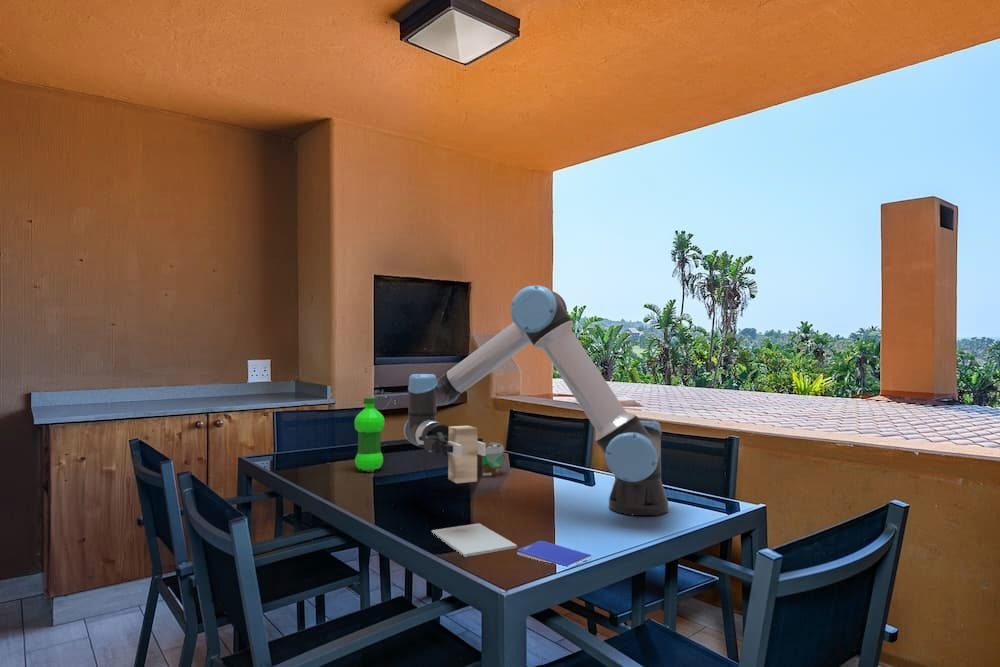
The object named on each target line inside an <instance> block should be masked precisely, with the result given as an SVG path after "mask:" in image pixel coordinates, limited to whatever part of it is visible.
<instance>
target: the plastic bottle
mask: <svg viewBox="0 0 1000 667" xmlns="http://www.w3.org/2000/svg"><path fill="white" fill-rule="evenodd" d="M363 404H364V408H363V409H362V411H360V412H359V413H358V414H357V415H356V416H355V419H354V421H353V422H354V429H355V430H356V431H357V454H356V456H355V458H354V463H355V467H356V468H357V469H358V470H360V469H362V470H375V469H378V470H379V469H380V468H382V466H383V463H384V456H383V453H382V451H381V450H382V448H381V445H382V444H381V442H382V441H381V440H382V438H381V434H382V432H381V431H382V430H383V429H384V427H385V417H384V415H383V414H382V413H381V412H380V411H378V409H376V408H375V404H377V398H376V397H364V398H363Z"/></svg>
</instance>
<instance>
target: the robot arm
mask: <svg viewBox="0 0 1000 667" xmlns="http://www.w3.org/2000/svg"><path fill="white" fill-rule="evenodd" d="M510 316H511V319H512V321H513V322H512V323H510V324H509V325H508V326H507V327H505V328H504V329H502V330H501V331H500V332H499V333H497V334H496V335H495V336H493V337H491V339H489V340H488V341H486V342H485V343H484V344H482V345H481V346H479V348H477V349H476V350H474V351H473V352H472V353H471V354H469V355H468V356H467V357H465V358H464V359H463V360H461V361H459V362H458V363H457V364H455V365H454V366H453V367H452V368H450V369H449V370H448V371H446V372H445V373H443V374H442V375H441V376H440V377H438V378H437V376H436V374H435V373H434V374H433V373H413V374H410V375H409V379H408V387H407V391H408V392H407V393H408V396H407V397H408V402H407V403H408V406H407V408H408V414H407V415H408V416H407V420H406V422H405V424H404V425H403V436H404V437H405V439H406V440H407V441H408V442H409V443H410V444H412V445H414V446H416V447H418V448H419V449H425V450H427V451H428V452H429V453H433V454H436V455H437V454H441V456H442V457H448V454H451V455H453V456H456V457H458V458H462V445H460V444H457V443H455V442H452V441H449V427H450V426H449V425H447V424H445V423H441V422H439V421H437V407H442V406H448V405H450V404H452V403H454V402H455V401H456V400H457V399H458V397H459V396H460V395H461V394H463V393H464V392H466V390H468V389H469V388H471V387H472V386H474V385H475V384H476V383H478V382H480V381H481V380H482V379H483V378H485V377H486V376H487V375H489V374H491V372H493V371H494V370H495V369H497V368H498V367H500V366H501V365H503V364H504V363H505V362H507V361H508V360H509V359H511V358H512V357H514V356H515V355H517V354H518V353H519V352H520V351H522V350H524V349H525V348H526V347H528V346H530V344H532V345H533V347H534V348H537V349H541V350H543V352H544V353H545V354H546V356H547V358H548V359H549V360H550V362H551V363H552V365H553V366H554V368H555V370H556V371H557V373H559V374H558V375H559V376H560V377H561V378H562V381H564V383H565V385H566V386H567V388H568V389H569V391H570V393H572V395H573V397H574V398H575V400H576V402H577V403H578V404H579V406H580V407H581V409H582V410H583V413H585V415H586V417H587V418H588V420H589V422H590V423H591V425H592V427H593V428H594V429H595V434H596V435H595V439H594V440H595V443H597V445H598V447H599V449H600V450H601V452H602V453H603V454H604V459H605V462H606V465H607V467H608V469H609V471H610V472H611V473H612V474H613V476H615V479H614V482H613V484H612V489H611V491H610V494H609V497H608V508H609V509H610V510H611V509H612V510H611V511H613V510H614V511H613V512H615V511H616V513H618V512H620V513H619V514H621V513H625V514H624V515H626V514H633V515H632V516H634V515H656V516H659V515H658V514H662V515H664V514H663V513H665V512H667V511H668V512H669V500H668V498H667V494H666V491H665V488H664V485H663V482H662V448H661V447H662V446H661V445H662V439H661V436H662V433H663V432H662V430H661V429H662V428H661V424H660V423H659V422H658V421H654V420H651V421H650V420H640V418H639V417H638V416H637V414H635V413H631V412H628V411H626V409H625V408H624V406H623V405H622V403H621V402H620V400H619V399H618V397H617V396H616V394H615V393H614V391H613V389H612V388H611V387H610V386H609V384H608V383H607V381H606V379H605V378H604V376H603V374H601V372H600V370H599V369H598V368H597V366H596V364H595V363H594V362H593V360H592V358H591V357H590V356H589V354H588V353H587V351H586V350H585V349H584V347H583V345H582V344H581V342H580V341H579V339H578V337H577V336H576V335H575V333H574V331H573V326H574V321H573V319H572V317H571V316H570V315H569V314H568V308H567V304H566V301H565V300H564V298H563V297H562V296H561V295H560V294H558V293H557V292H555V291H553V290H550V289H549V288H548V287H545V286H542V285H529V286H525V287H524V288H521V289H520V290H519V291H518V292H517V293H516V294H515V295H514V297H513V299H512V302H511V305H510ZM486 446H487V443H485V442H484V438H482V437H479V436H477V455H479V456H481V457H482V456H486ZM668 512H667V513H668ZM665 514H666V513H665Z"/></svg>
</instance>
